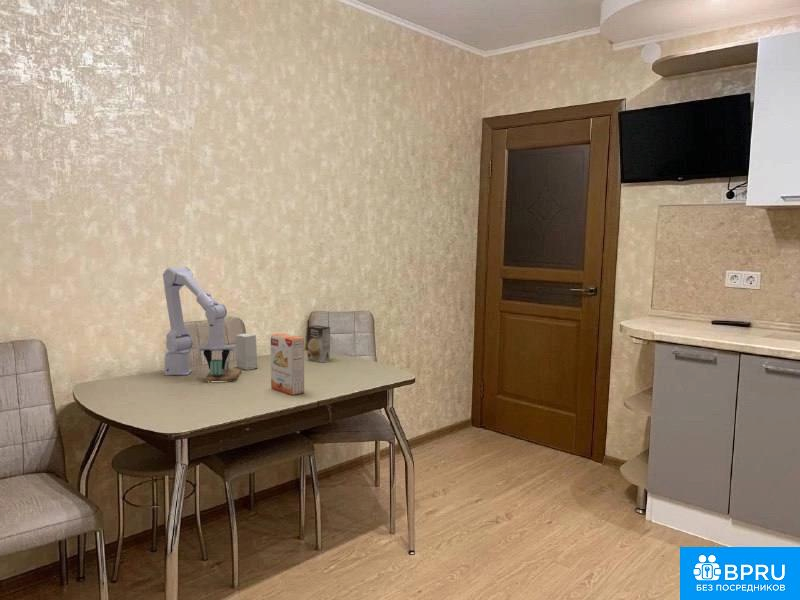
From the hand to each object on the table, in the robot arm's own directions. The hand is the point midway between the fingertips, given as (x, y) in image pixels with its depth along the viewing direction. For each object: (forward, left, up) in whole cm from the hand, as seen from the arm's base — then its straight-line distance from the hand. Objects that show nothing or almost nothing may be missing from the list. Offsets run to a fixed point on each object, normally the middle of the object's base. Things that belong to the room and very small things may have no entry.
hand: (216, 368), depth 251 cm
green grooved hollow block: (0, 0, -2) cm, 2 cm away
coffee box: (+40, +36, -5) cm, 54 cm away
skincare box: (+9, +21, -5) cm, 23 cm away
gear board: (+2, +4, -4) cm, 6 cm away
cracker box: (+29, -20, -5) cm, 36 cm away
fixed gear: (0, +9, -3) cm, 9 cm away
